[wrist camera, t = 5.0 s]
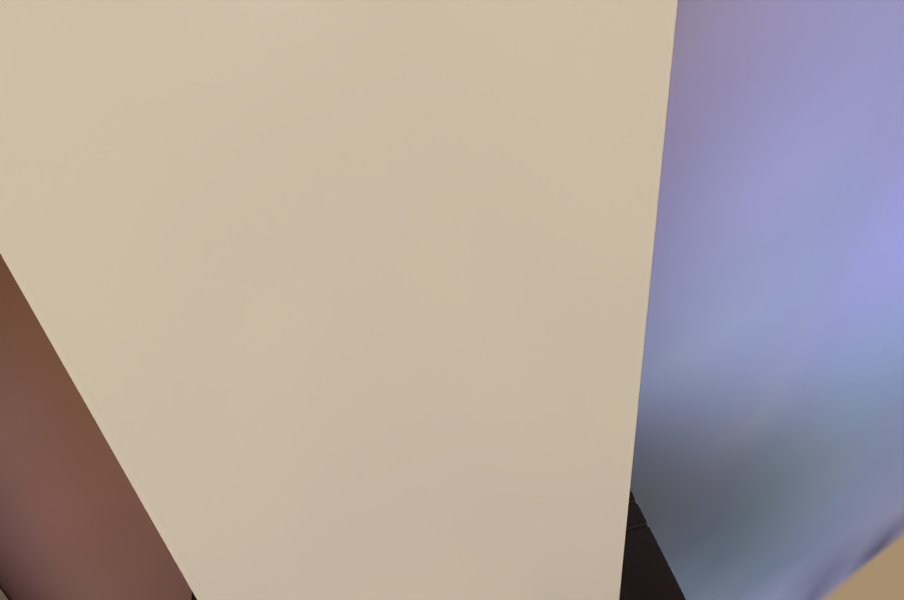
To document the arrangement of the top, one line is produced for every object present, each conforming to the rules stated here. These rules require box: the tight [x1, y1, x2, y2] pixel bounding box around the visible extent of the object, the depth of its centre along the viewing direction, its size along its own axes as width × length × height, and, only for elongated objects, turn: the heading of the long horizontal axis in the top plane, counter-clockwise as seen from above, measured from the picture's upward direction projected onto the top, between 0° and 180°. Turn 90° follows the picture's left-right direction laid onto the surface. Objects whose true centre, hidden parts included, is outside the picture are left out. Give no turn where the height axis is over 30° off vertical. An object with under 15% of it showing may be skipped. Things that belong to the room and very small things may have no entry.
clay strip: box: [0, 0, 678, 600], centre depth 11 cm, size 18×4×4 cm, turn 6°
